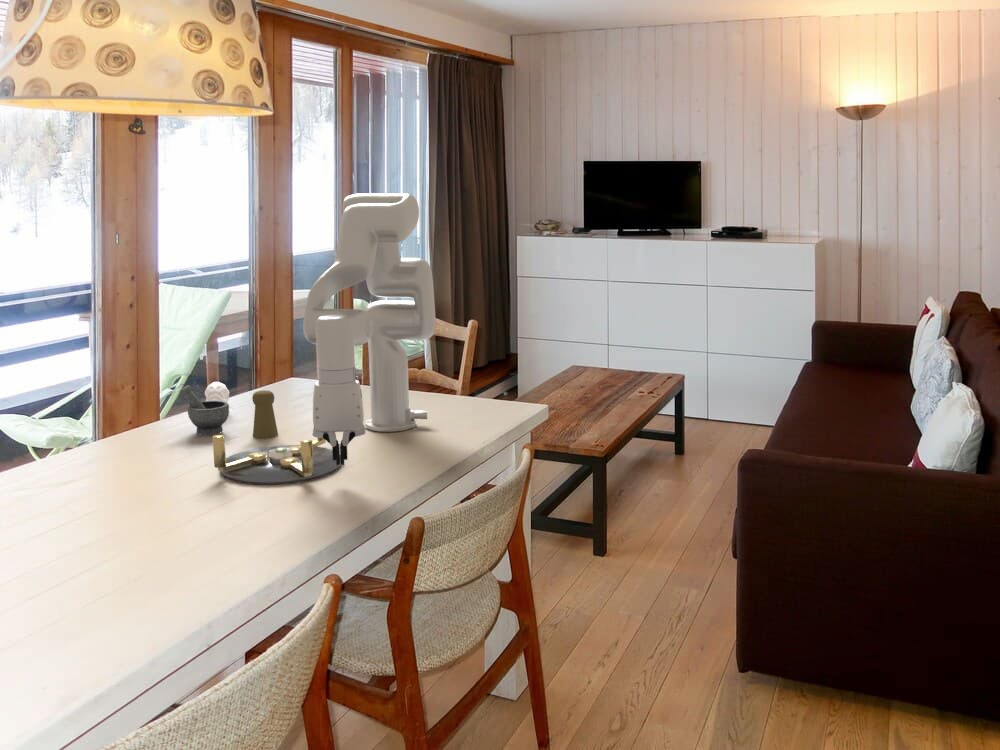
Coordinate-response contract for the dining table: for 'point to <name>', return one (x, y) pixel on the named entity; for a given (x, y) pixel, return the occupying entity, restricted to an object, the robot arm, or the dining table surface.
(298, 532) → the dining table surface
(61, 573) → the dining table surface
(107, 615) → the dining table surface
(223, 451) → the gold l-shaped piece
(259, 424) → the olive tapered upright piece
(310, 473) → the brass crank handle
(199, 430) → the mortar and pestle
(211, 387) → the white carved sculpture
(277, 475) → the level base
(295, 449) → the brass bent bar
